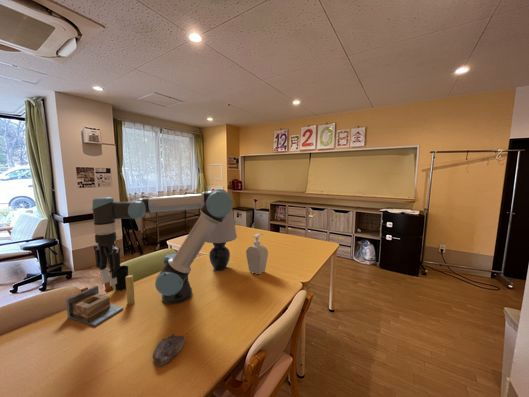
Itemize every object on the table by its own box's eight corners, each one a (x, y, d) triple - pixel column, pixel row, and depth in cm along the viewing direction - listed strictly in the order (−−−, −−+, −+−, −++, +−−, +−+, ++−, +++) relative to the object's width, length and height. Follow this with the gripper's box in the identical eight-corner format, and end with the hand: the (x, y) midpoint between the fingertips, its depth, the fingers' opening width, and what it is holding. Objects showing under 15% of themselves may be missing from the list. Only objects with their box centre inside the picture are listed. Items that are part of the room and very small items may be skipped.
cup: (121, 292, 123) (120, 271, 121) (110, 290, 124) (108, 270, 123) (132, 285, 130) (131, 266, 129) (121, 284, 132) (120, 265, 130)
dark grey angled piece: (123, 309, 107) (121, 291, 106) (94, 326, 95) (93, 307, 94) (97, 302, 113) (96, 285, 112) (67, 317, 101) (65, 299, 100)
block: (110, 306, 108) (109, 296, 107) (88, 318, 98) (87, 308, 98) (96, 302, 111) (95, 292, 110) (73, 314, 102) (72, 303, 101)
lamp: (194, 270, 151) (192, 212, 146) (219, 259, 171) (218, 208, 167) (220, 279, 138) (219, 216, 134) (243, 265, 158) (243, 211, 154)
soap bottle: (269, 271, 150) (269, 234, 147) (260, 276, 142) (260, 237, 139) (255, 266, 157) (255, 231, 154) (246, 271, 149) (245, 234, 146)
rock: (146, 364, 77) (145, 351, 76) (169, 340, 87) (169, 329, 87) (165, 370, 74) (165, 357, 74) (186, 345, 85) (186, 334, 84)
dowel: (136, 301, 114) (134, 275, 112) (130, 305, 111) (128, 278, 109) (131, 300, 115) (129, 274, 113) (125, 303, 112) (124, 277, 110)
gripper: (128, 232, 97) (131, 283, 99) (100, 229, 102) (104, 277, 105) (111, 236, 90) (115, 291, 92) (82, 233, 95) (87, 284, 98)
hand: (109, 283), depth 99 cm, fingers open, 4 cm apart
